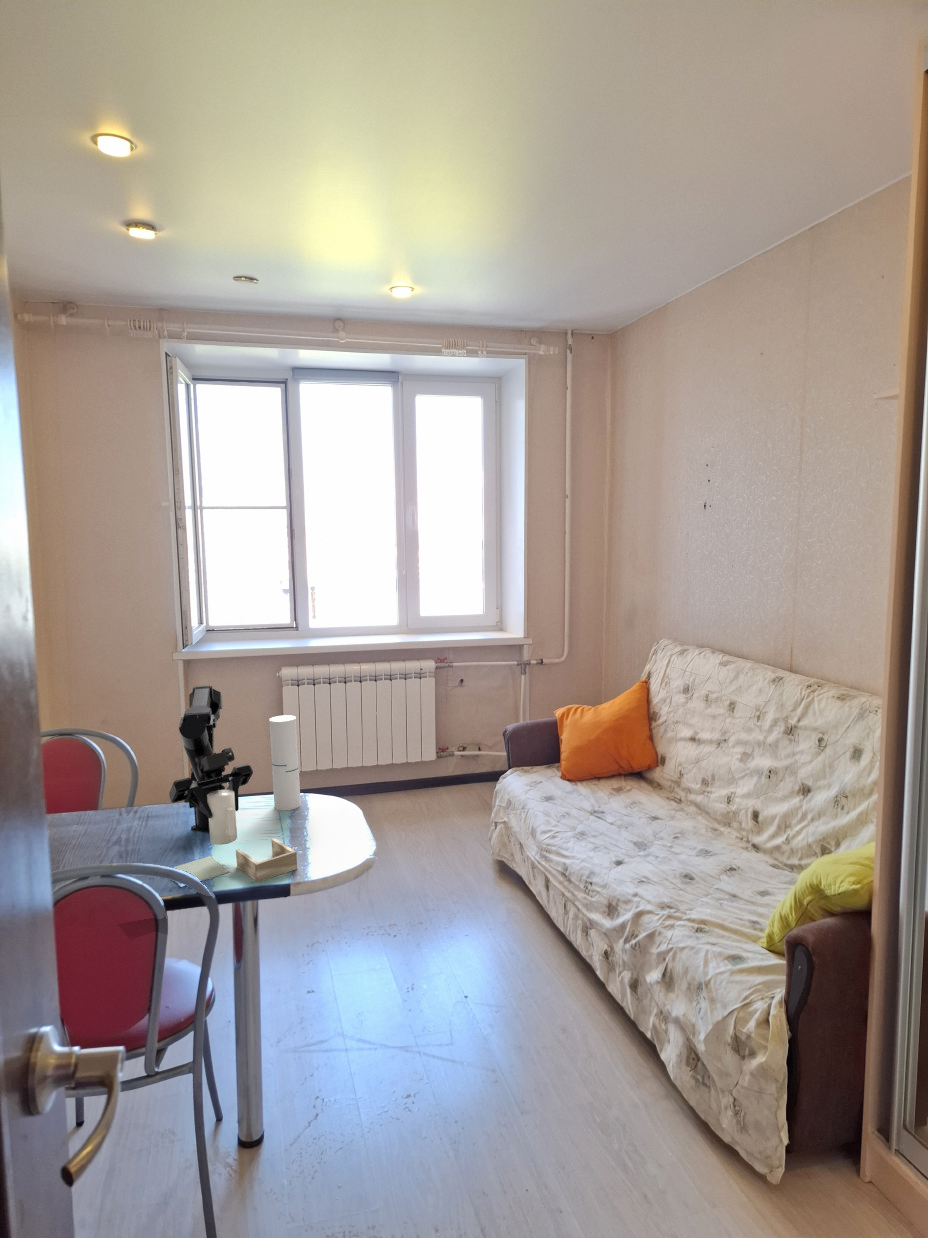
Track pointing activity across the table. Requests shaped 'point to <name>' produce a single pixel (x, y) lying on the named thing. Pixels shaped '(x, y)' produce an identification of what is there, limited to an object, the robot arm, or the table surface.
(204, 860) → the sage mat
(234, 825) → the rounded top cylinder
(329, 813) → the table surface
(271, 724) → the cylindrical container
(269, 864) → the frame
